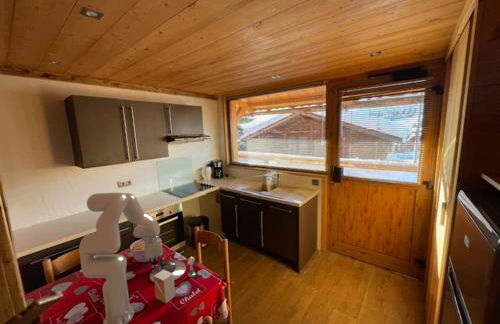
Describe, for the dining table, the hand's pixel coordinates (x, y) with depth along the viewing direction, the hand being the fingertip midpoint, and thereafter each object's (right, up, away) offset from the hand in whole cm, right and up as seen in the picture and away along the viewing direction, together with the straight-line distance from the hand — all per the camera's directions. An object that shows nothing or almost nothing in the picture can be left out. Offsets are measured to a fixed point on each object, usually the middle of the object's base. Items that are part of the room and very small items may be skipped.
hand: (155, 265), depth 138 cm
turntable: (+10, -3, -4) cm, 11 cm away
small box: (+16, -5, -24) cm, 30 cm away
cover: (+11, -1, -3) cm, 12 cm away
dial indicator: (+26, -2, -7) cm, 27 cm away
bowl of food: (-11, -2, +13) cm, 17 cm away
